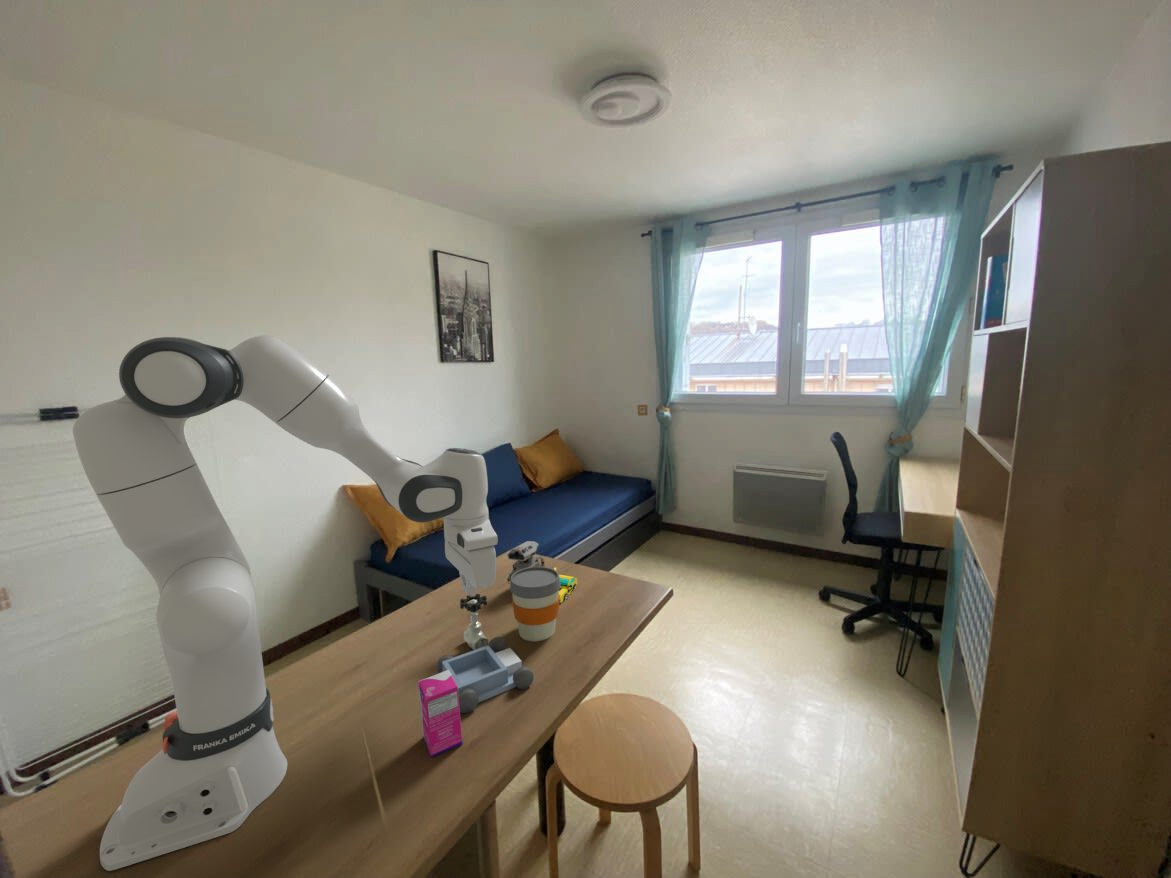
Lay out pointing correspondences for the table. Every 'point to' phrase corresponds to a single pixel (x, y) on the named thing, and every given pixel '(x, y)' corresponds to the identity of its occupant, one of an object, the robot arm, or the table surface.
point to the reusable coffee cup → (535, 601)
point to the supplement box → (440, 712)
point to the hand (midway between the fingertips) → (468, 592)
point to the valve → (474, 621)
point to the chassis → (485, 673)
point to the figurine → (524, 557)
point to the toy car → (566, 586)
